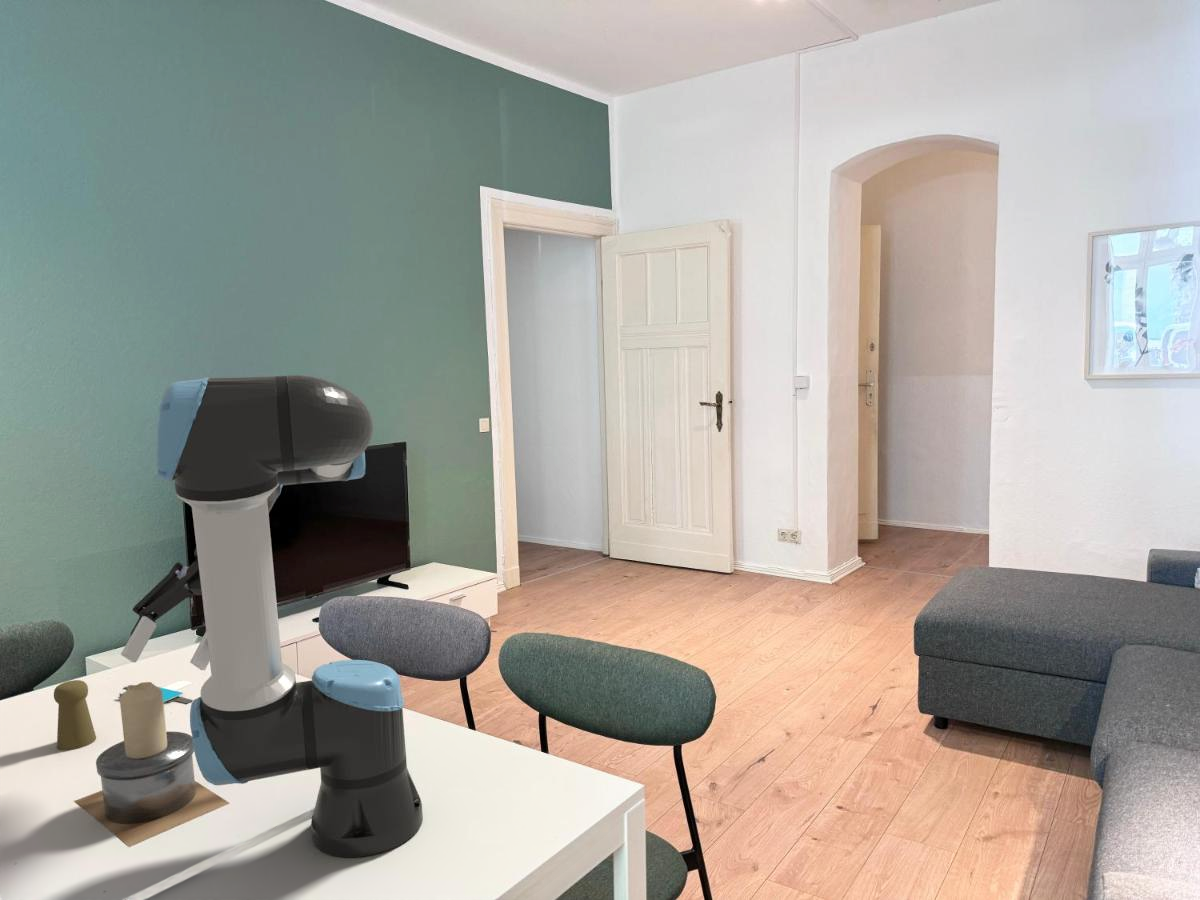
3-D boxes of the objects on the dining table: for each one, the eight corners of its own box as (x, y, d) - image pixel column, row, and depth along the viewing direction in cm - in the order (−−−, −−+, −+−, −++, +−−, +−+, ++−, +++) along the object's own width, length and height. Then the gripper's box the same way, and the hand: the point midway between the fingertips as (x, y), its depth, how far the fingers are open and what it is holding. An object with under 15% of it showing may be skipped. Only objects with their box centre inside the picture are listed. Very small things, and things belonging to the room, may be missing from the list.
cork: (67, 753, 149) (60, 692, 148) (49, 745, 152) (42, 685, 151) (103, 739, 154) (96, 679, 153) (85, 732, 157) (78, 674, 156)
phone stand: (220, 692, 175) (219, 684, 175) (166, 715, 165) (165, 707, 164) (156, 678, 184) (155, 670, 184) (102, 699, 174) (101, 691, 174)
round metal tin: (214, 797, 129) (209, 746, 128) (123, 835, 119) (117, 780, 118) (175, 772, 137) (171, 724, 136) (87, 806, 127) (81, 755, 126)
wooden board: (230, 812, 127) (229, 802, 127) (130, 857, 117) (129, 846, 116) (170, 773, 140) (169, 764, 140) (75, 810, 129) (74, 800, 129)
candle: (149, 760, 124) (143, 693, 123) (116, 758, 125) (109, 692, 124) (176, 743, 129) (169, 679, 128) (143, 741, 130) (137, 677, 129)
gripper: (300, 558, 141) (242, 680, 129) (182, 551, 150) (117, 665, 138) (275, 533, 136) (212, 658, 123) (154, 527, 144) (83, 644, 132)
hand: (162, 662), depth 130 cm, fingers open, 13 cm apart
